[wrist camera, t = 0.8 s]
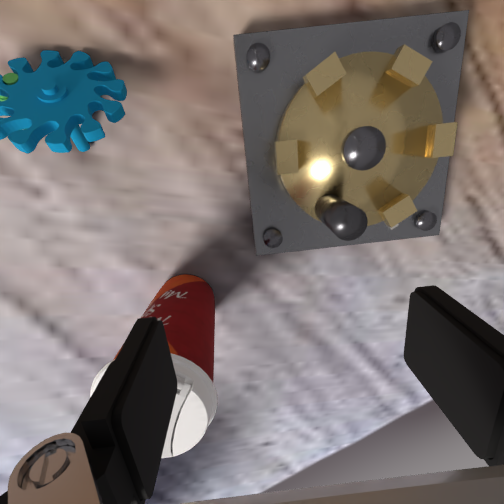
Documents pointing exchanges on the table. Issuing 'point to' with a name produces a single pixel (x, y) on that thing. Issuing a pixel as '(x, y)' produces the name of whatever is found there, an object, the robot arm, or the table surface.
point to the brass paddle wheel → (362, 139)
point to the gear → (58, 101)
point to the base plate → (288, 83)
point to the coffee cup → (186, 357)
